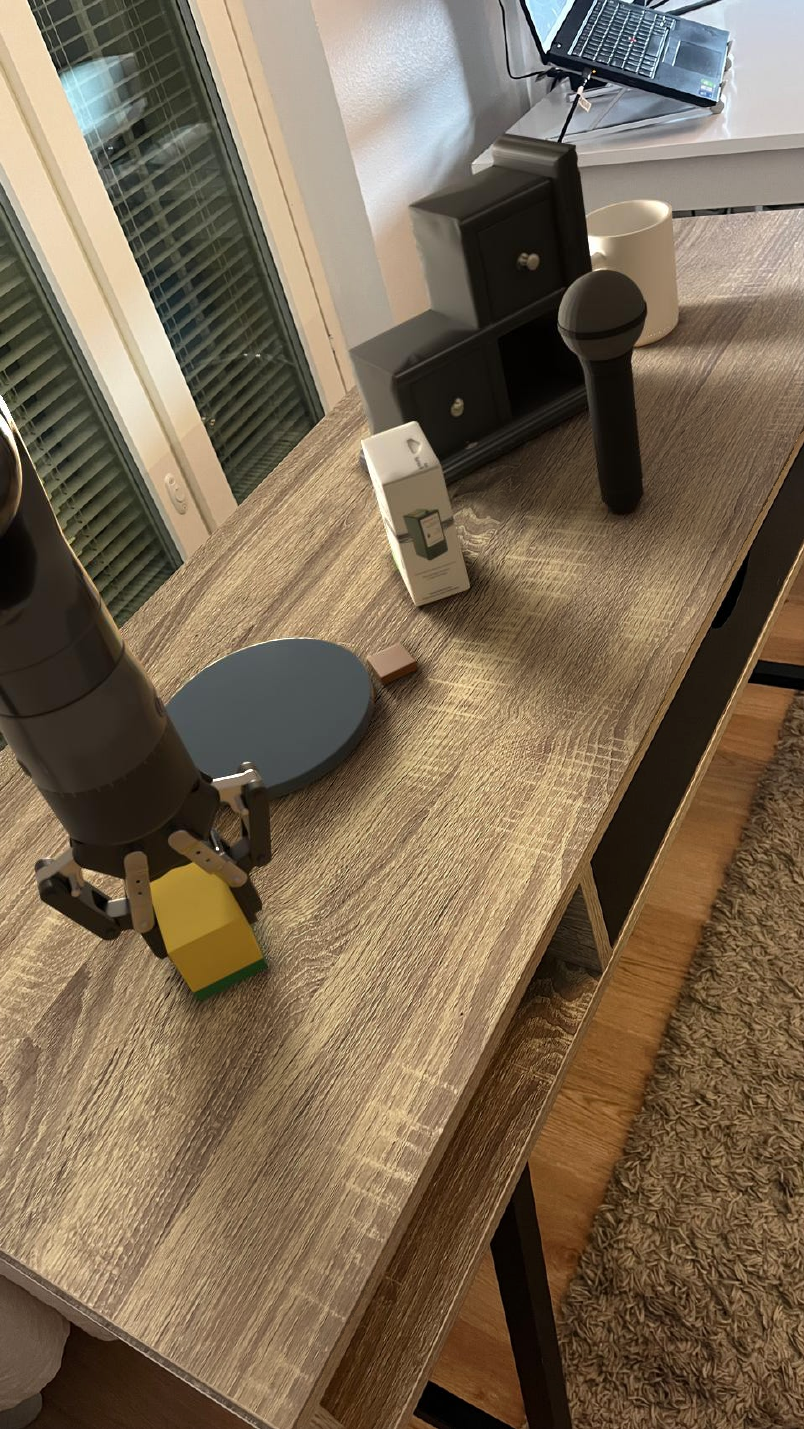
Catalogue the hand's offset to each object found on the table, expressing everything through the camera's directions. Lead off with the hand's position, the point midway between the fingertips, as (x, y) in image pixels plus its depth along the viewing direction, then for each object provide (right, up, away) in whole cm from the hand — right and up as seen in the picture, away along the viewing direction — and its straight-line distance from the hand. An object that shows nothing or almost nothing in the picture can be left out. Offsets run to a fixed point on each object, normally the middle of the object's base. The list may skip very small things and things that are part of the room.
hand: (212, 931), depth 66 cm
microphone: (+30, +31, +25) cm, 50 cm away
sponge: (0, -1, +1) cm, 1 cm away
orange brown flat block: (+11, +17, +17) cm, 26 cm away
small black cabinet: (+20, +41, +40) cm, 61 cm away
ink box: (+14, +25, +25) cm, 38 cm away
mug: (+36, +54, +49) cm, 81 cm away
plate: (+1, +13, +15) cm, 20 cm away
